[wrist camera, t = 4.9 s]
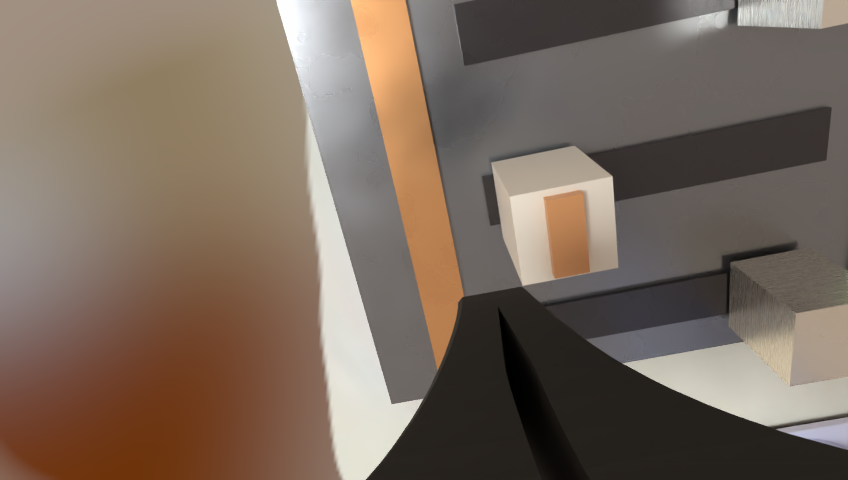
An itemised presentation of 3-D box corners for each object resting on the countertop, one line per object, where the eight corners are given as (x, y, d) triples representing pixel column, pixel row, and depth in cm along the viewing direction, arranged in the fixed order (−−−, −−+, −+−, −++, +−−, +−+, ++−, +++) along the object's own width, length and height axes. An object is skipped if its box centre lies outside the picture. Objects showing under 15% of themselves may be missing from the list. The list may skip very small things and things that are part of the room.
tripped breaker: (581, 222, 19) (622, 272, 15) (503, 237, 19) (524, 290, 15) (574, 145, 18) (616, 179, 14) (491, 162, 18) (511, 200, 14)
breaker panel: (914, 291, 22) (1052, 367, 17) (392, 385, 23) (388, 480, 18) (1002, -177, 16) (1256, -259, 11) (281, -14, 17) (231, -24, 12)
